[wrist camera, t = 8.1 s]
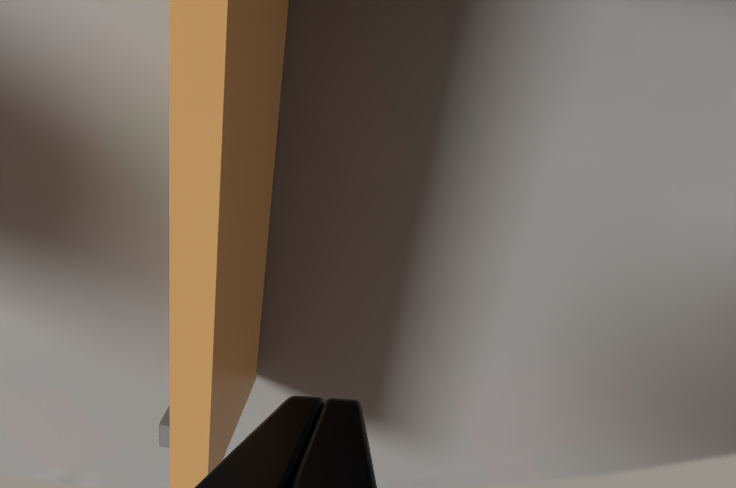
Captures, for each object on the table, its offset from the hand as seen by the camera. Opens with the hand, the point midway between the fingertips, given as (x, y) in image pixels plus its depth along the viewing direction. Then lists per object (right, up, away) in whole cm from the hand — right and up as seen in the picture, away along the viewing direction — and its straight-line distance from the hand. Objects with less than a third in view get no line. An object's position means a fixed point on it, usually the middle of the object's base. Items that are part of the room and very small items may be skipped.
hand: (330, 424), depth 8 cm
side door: (-3, +4, +10) cm, 11 cm away
